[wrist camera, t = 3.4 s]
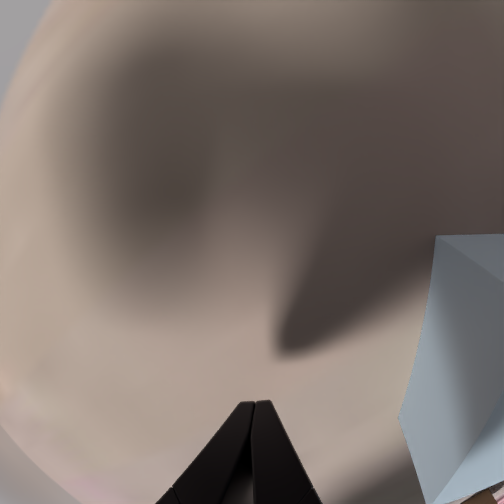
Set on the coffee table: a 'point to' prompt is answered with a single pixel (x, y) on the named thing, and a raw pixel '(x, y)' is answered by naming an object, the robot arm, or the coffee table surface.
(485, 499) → the wooden block set
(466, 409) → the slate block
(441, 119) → the coffee table surface
